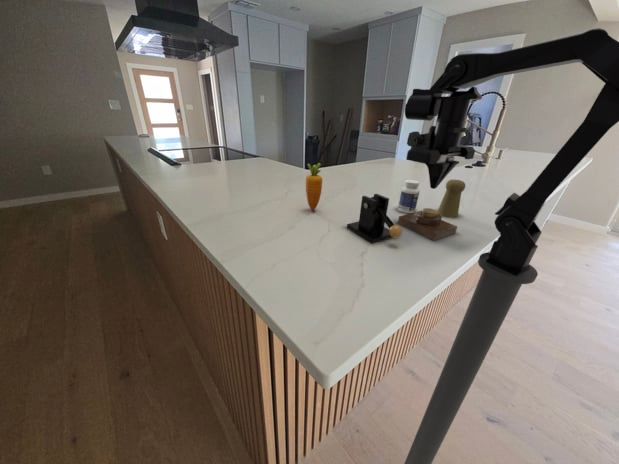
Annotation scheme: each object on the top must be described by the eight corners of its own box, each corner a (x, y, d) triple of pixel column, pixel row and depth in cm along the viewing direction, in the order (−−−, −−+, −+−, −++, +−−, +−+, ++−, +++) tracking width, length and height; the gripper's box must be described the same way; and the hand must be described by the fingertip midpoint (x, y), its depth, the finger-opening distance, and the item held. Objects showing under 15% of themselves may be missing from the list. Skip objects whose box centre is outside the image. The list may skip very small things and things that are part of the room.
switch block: (455, 233, 69) (459, 220, 67) (433, 240, 64) (437, 226, 63) (418, 217, 78) (421, 205, 76) (397, 223, 74) (400, 210, 72)
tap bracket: (395, 237, 66) (402, 201, 61) (371, 243, 62) (377, 206, 58) (368, 222, 73) (373, 189, 69) (346, 227, 70) (350, 193, 65)
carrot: (301, 210, 80) (302, 162, 74) (313, 206, 83) (315, 160, 77) (311, 214, 77) (313, 165, 70) (323, 211, 80) (326, 163, 73)
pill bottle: (412, 215, 80) (419, 184, 76) (395, 211, 82) (401, 181, 78) (416, 209, 84) (423, 181, 80) (399, 206, 86) (405, 178, 82)
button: (438, 217, 69) (440, 211, 68) (429, 219, 67) (431, 213, 67) (427, 213, 72) (428, 207, 71) (418, 215, 70) (420, 209, 69)
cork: (442, 209, 85) (451, 176, 81) (460, 214, 81) (471, 181, 76) (433, 213, 82) (442, 179, 77) (452, 219, 78) (463, 184, 73)
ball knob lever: (400, 238, 61) (407, 231, 59) (391, 241, 60) (398, 233, 57) (373, 203, 67) (378, 195, 64) (364, 205, 65) (369, 196, 63)
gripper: (442, 120, 69) (428, 177, 75) (394, 119, 60) (383, 184, 67) (485, 122, 60) (465, 186, 67) (437, 122, 51) (419, 196, 58)
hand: (433, 188), depth 65 cm, fingers closed
